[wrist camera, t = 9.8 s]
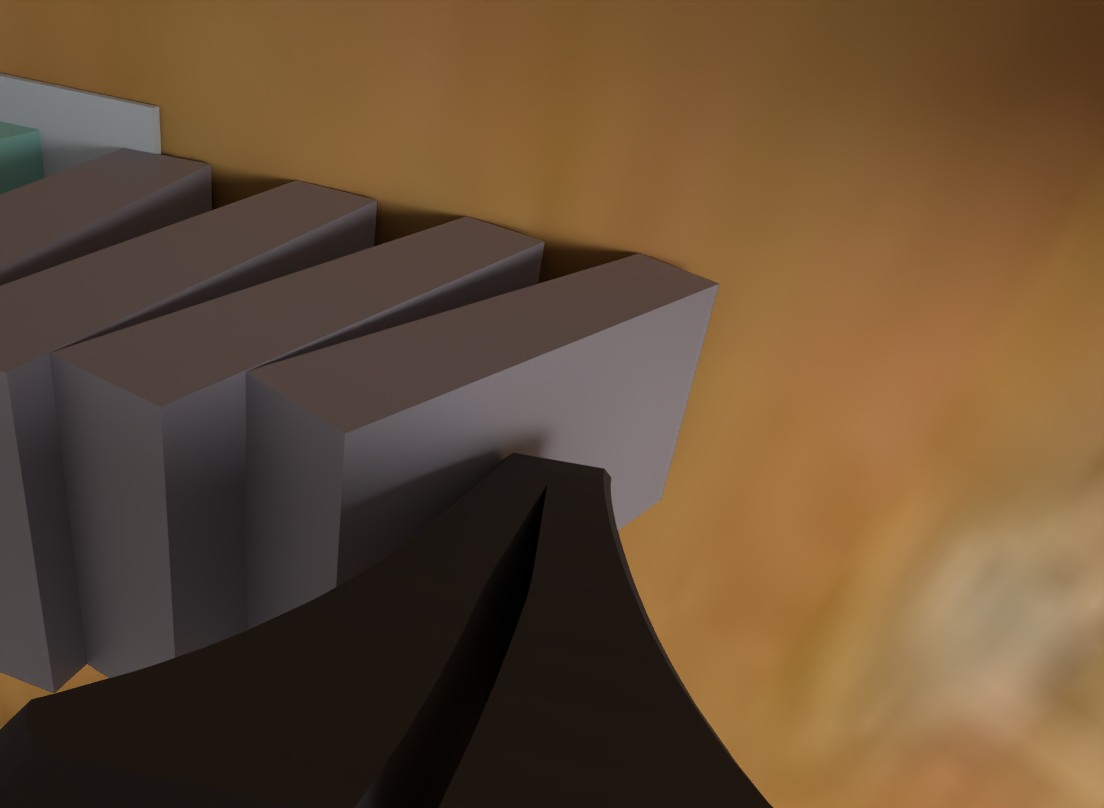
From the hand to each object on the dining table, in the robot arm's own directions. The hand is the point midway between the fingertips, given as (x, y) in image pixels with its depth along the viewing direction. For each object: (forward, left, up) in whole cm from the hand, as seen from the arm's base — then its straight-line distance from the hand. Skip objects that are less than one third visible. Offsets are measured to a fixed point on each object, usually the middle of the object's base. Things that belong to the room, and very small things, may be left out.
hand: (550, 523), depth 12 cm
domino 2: (+2, 0, -5) cm, 6 cm away
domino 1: (-1, 0, -5) cm, 5 cm away
